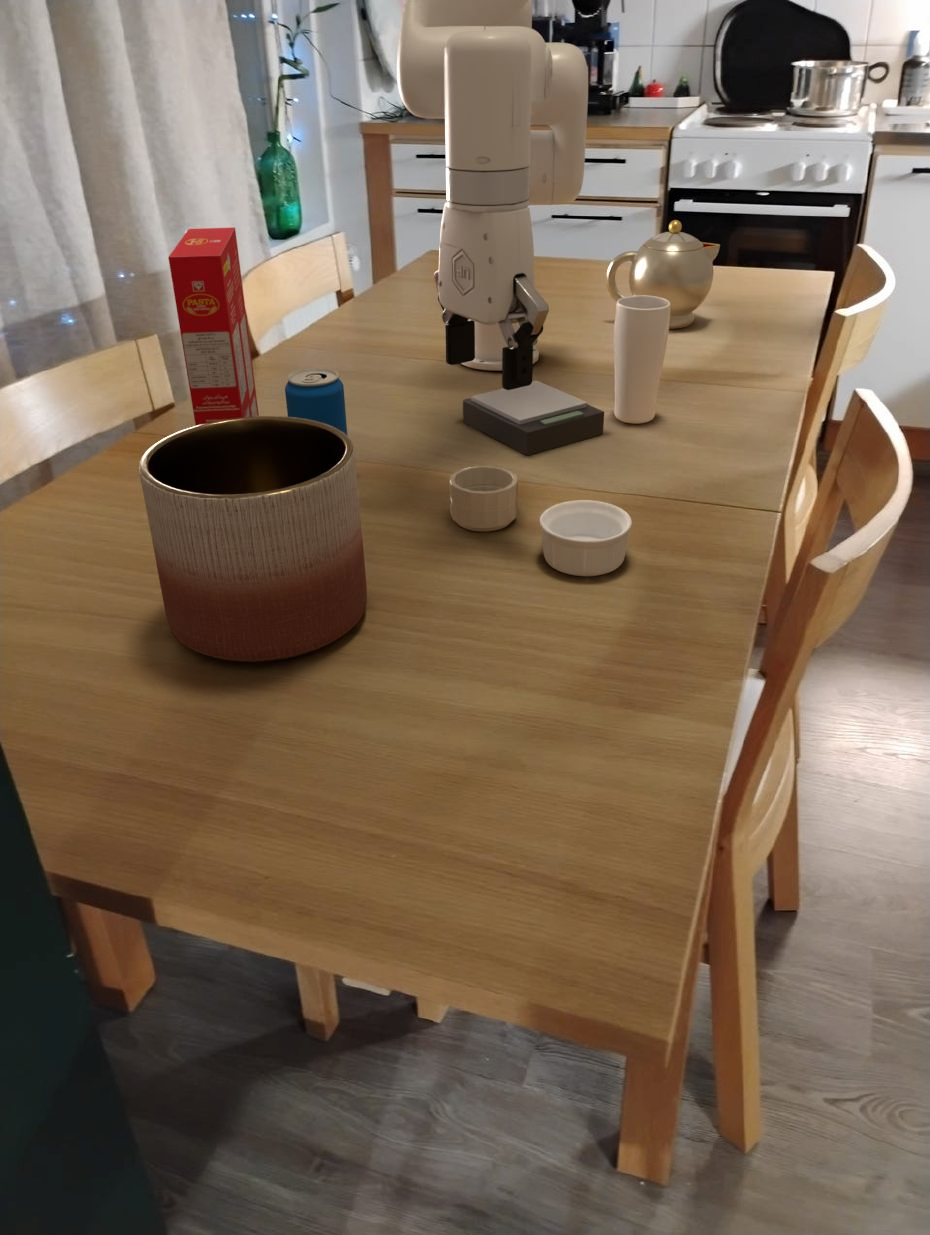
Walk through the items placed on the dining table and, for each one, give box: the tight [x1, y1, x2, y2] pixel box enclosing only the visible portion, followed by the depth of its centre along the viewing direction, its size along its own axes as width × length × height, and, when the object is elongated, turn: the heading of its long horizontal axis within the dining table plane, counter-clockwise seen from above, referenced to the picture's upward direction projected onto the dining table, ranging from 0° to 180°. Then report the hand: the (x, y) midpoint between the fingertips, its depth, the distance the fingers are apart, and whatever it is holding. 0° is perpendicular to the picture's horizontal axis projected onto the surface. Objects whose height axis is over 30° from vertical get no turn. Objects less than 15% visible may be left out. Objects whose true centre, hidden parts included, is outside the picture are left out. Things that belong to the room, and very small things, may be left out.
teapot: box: [605, 219, 721, 330], centre depth 165 cm, size 18×14×16 cm
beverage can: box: [284, 367, 348, 436], centre depth 114 cm, size 6×6×12 cm
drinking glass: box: [613, 295, 671, 425], centre depth 128 cm, size 7×7×15 cm
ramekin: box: [539, 499, 633, 577], centre depth 98 cm, size 9×9×4 cm
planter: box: [138, 415, 368, 663], centre depth 87 cm, size 18×18×16 cm
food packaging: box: [167, 227, 260, 426], centre depth 116 cm, size 15×5×25 cm, turn 5°
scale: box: [462, 380, 605, 457], centre depth 128 cm, size 14×12×4 cm
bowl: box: [449, 465, 519, 532], centre depth 106 cm, size 7×7×5 cm
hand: (488, 374), depth 100 cm, fingers open, 9 cm apart
